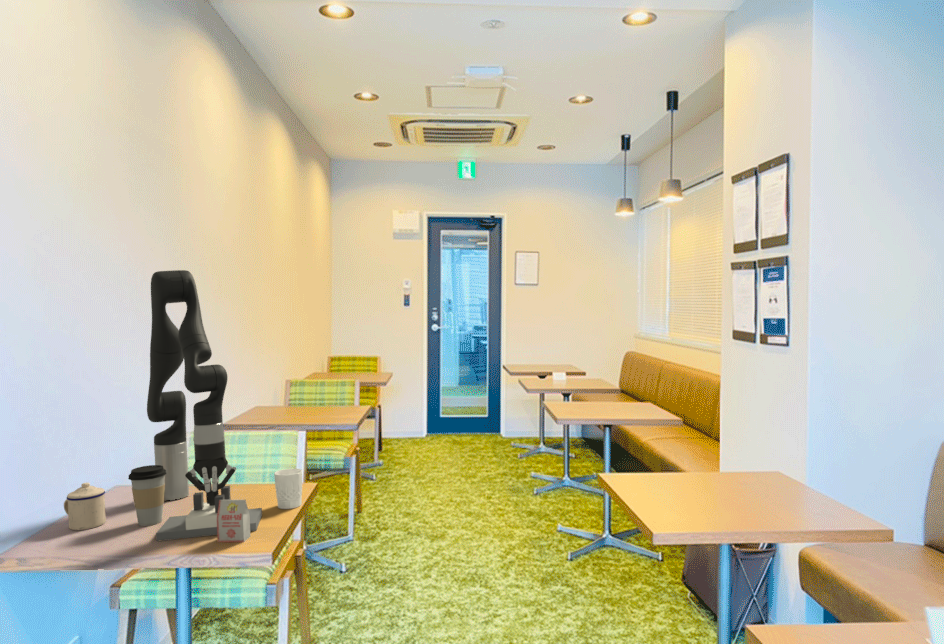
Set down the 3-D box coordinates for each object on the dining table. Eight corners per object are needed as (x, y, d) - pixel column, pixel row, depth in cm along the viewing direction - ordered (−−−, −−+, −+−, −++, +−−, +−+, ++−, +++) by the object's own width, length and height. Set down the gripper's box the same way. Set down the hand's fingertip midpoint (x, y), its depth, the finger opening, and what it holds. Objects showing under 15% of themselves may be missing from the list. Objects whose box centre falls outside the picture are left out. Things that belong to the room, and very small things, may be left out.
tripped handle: (195, 507, 167) (195, 492, 167) (203, 507, 167) (203, 492, 167) (193, 510, 165) (193, 495, 165) (201, 509, 165) (201, 494, 165)
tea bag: (224, 536, 159) (223, 497, 159) (250, 536, 159) (248, 497, 159) (217, 542, 156) (215, 502, 155) (243, 542, 155) (242, 501, 155)
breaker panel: (170, 524, 171) (168, 490, 171) (262, 514, 176) (260, 481, 176) (156, 541, 158) (154, 504, 158) (256, 530, 163) (254, 495, 163)
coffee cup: (176, 517, 176) (174, 464, 176) (150, 529, 167) (148, 473, 167) (148, 516, 179) (146, 463, 178) (122, 527, 170) (119, 472, 169)
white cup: (270, 509, 181) (268, 474, 181) (286, 500, 189) (284, 467, 188) (293, 510, 179) (291, 476, 178) (308, 502, 186) (307, 469, 186)
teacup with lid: (114, 520, 176) (112, 479, 176) (87, 531, 167) (84, 488, 167) (79, 518, 179) (77, 478, 179) (51, 529, 170) (49, 486, 170)
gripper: (237, 435, 172) (241, 498, 172) (185, 439, 169) (189, 503, 169) (233, 440, 164) (236, 506, 165) (179, 445, 162) (182, 512, 162)
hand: (212, 504), depth 167 cm, fingers closed
